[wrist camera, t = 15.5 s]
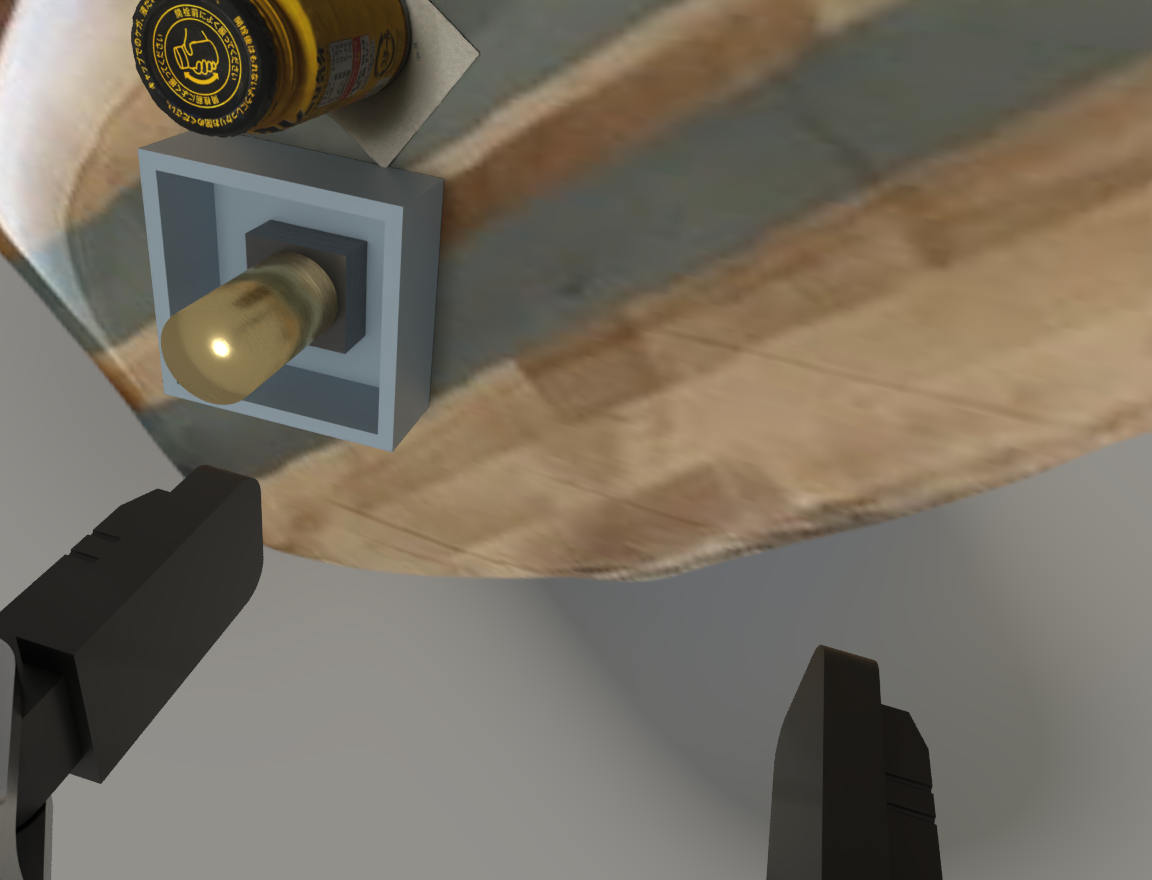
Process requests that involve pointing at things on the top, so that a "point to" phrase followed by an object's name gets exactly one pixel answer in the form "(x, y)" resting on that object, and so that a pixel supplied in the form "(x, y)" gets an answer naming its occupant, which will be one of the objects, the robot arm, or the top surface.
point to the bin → (318, 201)
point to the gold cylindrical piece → (270, 312)
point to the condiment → (299, 65)
